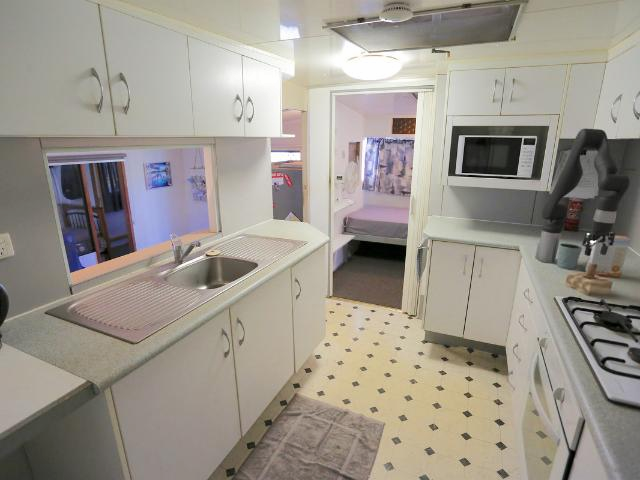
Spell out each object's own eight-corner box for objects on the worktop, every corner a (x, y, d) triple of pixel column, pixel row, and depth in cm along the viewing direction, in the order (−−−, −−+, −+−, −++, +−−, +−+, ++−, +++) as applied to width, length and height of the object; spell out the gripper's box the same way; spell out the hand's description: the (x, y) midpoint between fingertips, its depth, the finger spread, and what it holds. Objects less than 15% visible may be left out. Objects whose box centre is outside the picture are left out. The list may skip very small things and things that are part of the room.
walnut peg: (581, 285, 169) (587, 262, 166) (587, 284, 169) (592, 262, 166) (587, 287, 166) (593, 265, 163) (593, 287, 166) (599, 265, 163)
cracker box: (615, 274, 188) (625, 235, 182) (620, 278, 183) (631, 238, 177) (583, 270, 192) (593, 233, 186) (588, 274, 187) (597, 235, 181)
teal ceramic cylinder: (552, 266, 198) (556, 245, 195) (558, 262, 205) (563, 242, 201) (573, 271, 191) (578, 249, 188) (579, 267, 197) (584, 246, 194)
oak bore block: (565, 285, 172) (567, 273, 171) (585, 283, 175) (588, 272, 173) (587, 295, 161) (591, 283, 159) (609, 293, 164) (612, 281, 162)
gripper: (608, 217, 163) (600, 251, 168) (582, 218, 161) (574, 253, 165) (625, 221, 156) (615, 256, 161) (598, 222, 154) (589, 258, 158)
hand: (594, 254), depth 163 cm, fingers open, 8 cm apart
